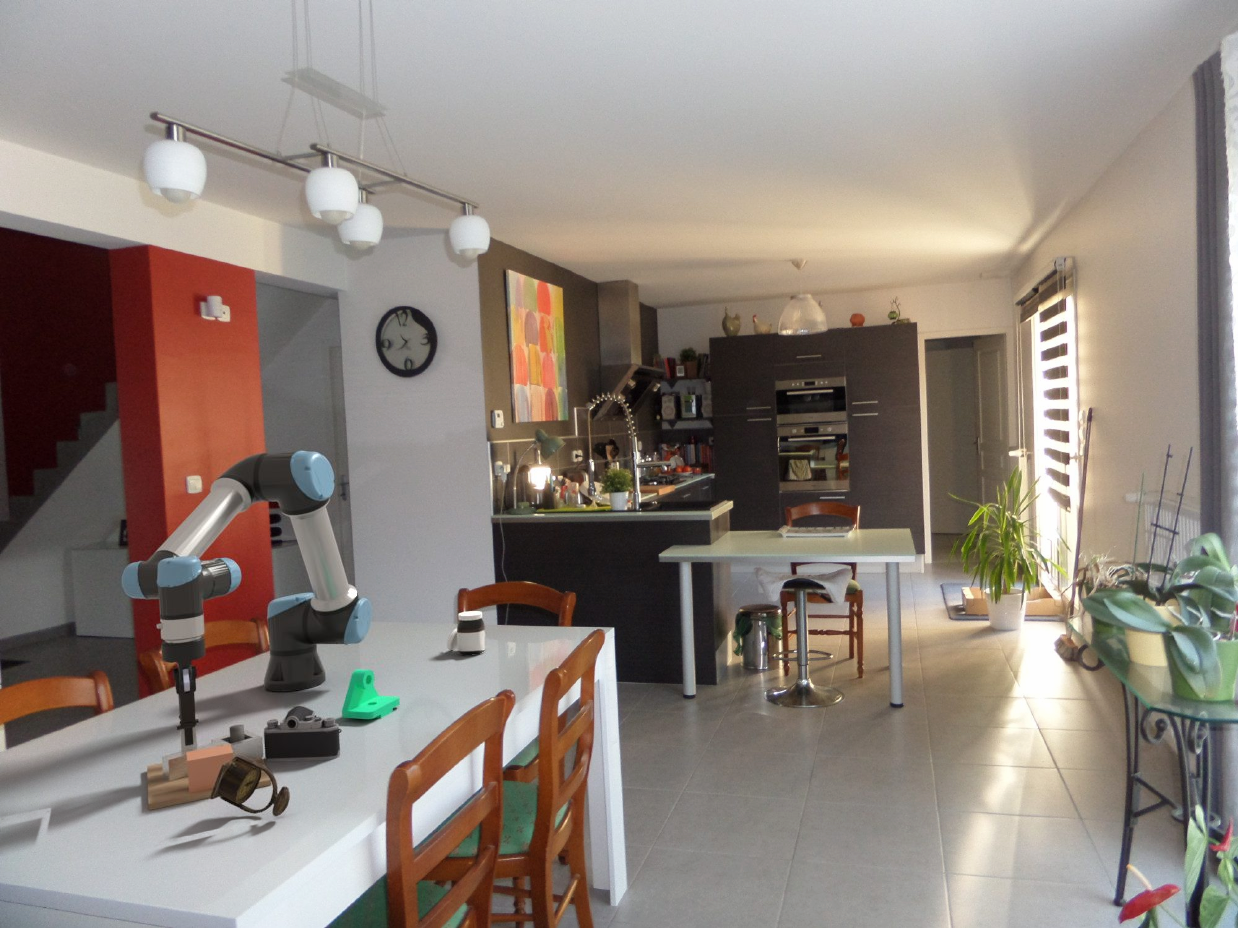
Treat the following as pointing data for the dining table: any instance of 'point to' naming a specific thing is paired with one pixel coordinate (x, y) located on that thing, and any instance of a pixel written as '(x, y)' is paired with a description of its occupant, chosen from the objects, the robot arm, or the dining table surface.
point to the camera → (302, 737)
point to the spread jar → (468, 634)
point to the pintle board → (178, 790)
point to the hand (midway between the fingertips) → (189, 759)
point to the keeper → (206, 766)
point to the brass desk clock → (247, 785)
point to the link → (177, 762)
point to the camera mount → (366, 698)
